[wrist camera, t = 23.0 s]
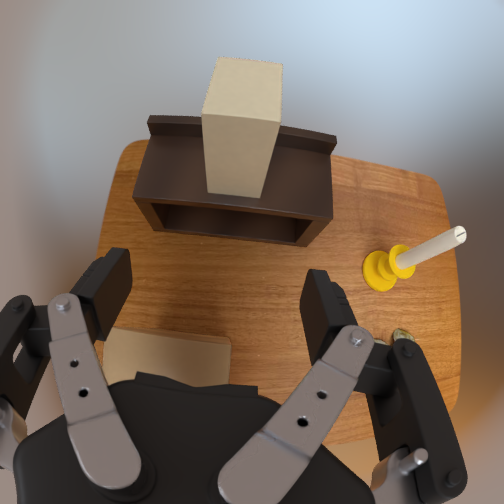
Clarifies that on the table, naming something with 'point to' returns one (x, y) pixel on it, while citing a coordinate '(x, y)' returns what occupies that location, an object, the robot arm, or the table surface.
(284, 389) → the table surface
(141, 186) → the shelf
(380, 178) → the table surface
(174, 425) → the robot arm
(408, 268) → the candle
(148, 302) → the table surface
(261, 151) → the snack box
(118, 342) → the block
